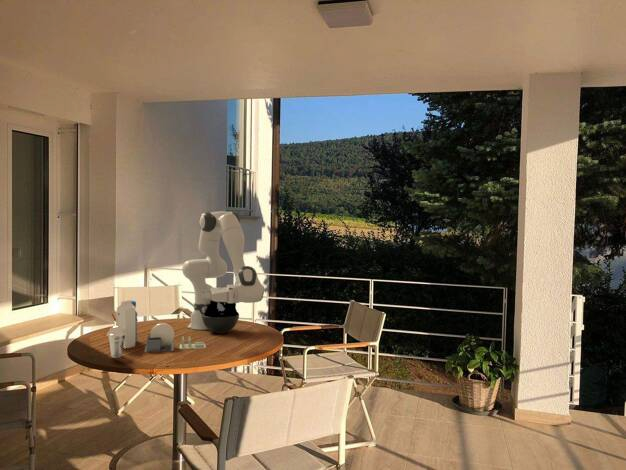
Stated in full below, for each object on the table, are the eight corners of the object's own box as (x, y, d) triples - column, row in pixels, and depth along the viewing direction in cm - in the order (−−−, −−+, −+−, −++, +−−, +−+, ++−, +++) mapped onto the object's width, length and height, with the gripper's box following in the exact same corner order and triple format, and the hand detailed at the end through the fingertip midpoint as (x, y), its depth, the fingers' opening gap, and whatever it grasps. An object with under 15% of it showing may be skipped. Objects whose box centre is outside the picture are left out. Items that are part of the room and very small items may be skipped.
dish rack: (146, 346, 253) (146, 333, 253) (174, 345, 256) (174, 332, 256) (144, 354, 238) (144, 340, 238) (173, 353, 241) (174, 339, 241)
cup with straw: (129, 354, 238) (129, 310, 237) (122, 359, 229) (123, 313, 228) (110, 353, 238) (110, 309, 237) (103, 359, 228) (103, 313, 228)
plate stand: (179, 346, 254) (179, 336, 253) (205, 345, 256) (205, 335, 256) (179, 351, 245) (179, 340, 245) (205, 350, 248) (206, 339, 247)
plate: (149, 345, 247) (151, 322, 247) (173, 346, 249) (175, 323, 249) (148, 346, 245) (151, 323, 245) (173, 347, 247) (175, 324, 247)
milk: (116, 347, 250) (116, 301, 249) (126, 344, 255) (126, 299, 255) (125, 349, 247) (125, 302, 246) (135, 346, 252) (135, 300, 252)
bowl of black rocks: (235, 337, 276) (236, 301, 275) (197, 336, 276) (198, 300, 276) (241, 329, 296) (242, 296, 295) (206, 328, 296) (206, 295, 296)
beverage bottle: (131, 344, 257) (131, 303, 256) (115, 343, 258) (116, 302, 258) (140, 340, 265) (140, 300, 265) (125, 339, 267) (125, 299, 266)
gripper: (229, 284, 264) (200, 284, 261) (232, 290, 244) (202, 290, 241) (228, 296, 264) (200, 297, 261) (232, 304, 244) (201, 304, 241)
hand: (201, 294), depth 251 cm, fingers open, 8 cm apart
